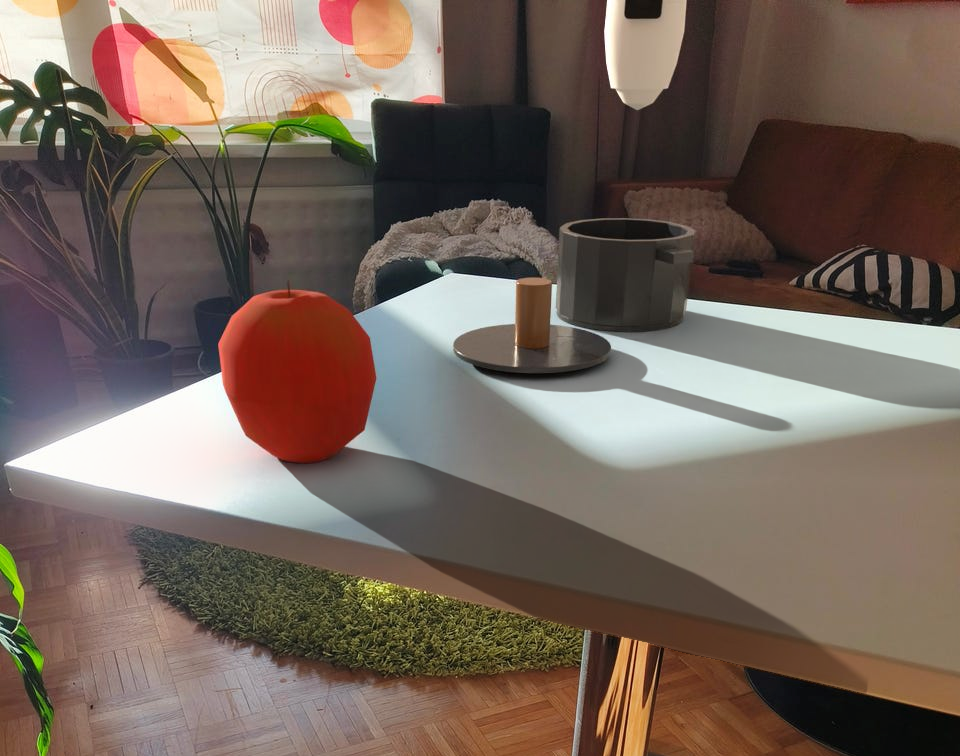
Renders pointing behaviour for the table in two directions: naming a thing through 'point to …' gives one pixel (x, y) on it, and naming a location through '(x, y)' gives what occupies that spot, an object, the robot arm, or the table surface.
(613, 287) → the pot
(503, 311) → the table surface
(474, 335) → the lid
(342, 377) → the apple
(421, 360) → the table surface
